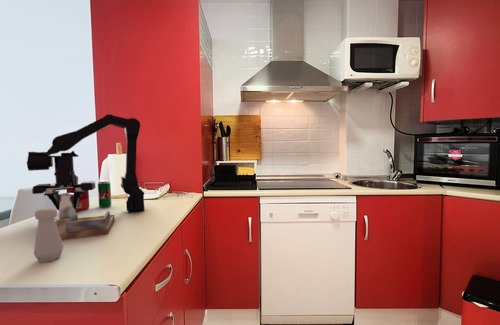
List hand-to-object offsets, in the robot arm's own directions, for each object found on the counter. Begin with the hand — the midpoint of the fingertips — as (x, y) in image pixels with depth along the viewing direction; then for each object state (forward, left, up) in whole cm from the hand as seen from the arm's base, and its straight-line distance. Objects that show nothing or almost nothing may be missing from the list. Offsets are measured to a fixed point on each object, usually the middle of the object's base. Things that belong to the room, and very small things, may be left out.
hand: (67, 209), depth 96 cm
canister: (0, 0, -4) cm, 4 cm away
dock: (-8, +16, -4) cm, 18 cm away
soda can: (-10, -18, -4) cm, 21 cm away
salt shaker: (-6, +38, -4) cm, 39 cm away
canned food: (0, -16, -4) cm, 17 cm away
